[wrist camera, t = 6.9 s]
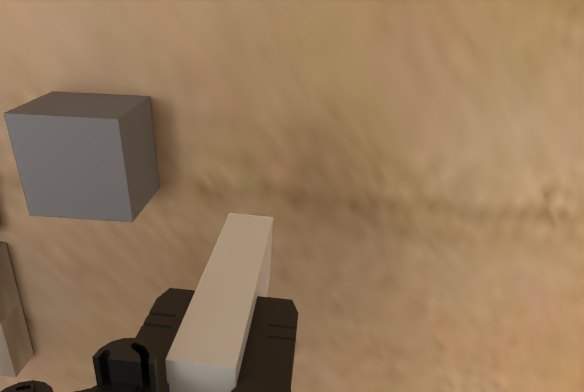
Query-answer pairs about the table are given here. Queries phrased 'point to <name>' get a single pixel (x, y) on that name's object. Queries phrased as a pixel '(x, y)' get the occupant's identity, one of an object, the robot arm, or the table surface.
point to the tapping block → (85, 155)
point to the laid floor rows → (11, 321)
